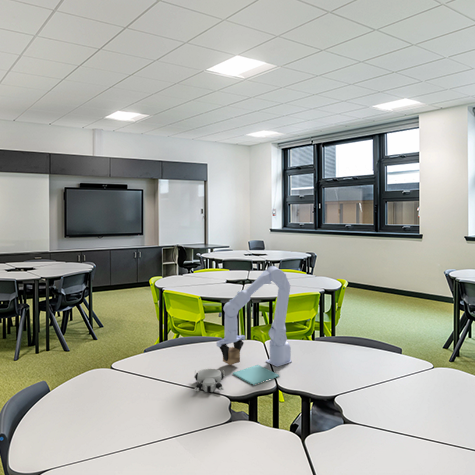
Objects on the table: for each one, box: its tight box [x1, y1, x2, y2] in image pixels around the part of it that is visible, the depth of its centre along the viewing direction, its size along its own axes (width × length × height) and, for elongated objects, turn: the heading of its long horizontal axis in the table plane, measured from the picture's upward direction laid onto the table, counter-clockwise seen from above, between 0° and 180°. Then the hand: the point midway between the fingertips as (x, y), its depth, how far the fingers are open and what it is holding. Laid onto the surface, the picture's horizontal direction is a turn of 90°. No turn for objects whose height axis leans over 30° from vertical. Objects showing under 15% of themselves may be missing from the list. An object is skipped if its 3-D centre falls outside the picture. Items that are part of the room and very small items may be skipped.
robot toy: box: [193, 368, 225, 393], centre depth 167 cm, size 12×4×15 cm
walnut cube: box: [222, 346, 241, 366], centre depth 187 cm, size 6×6×6 cm
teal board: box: [232, 364, 280, 386], centre depth 177 cm, size 14×14×1 cm
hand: (231, 358), depth 187 cm, fingers closed on walnut cube, 5 cm apart
